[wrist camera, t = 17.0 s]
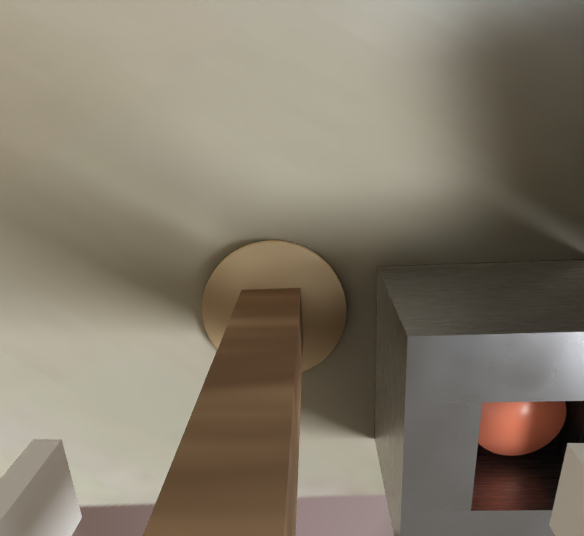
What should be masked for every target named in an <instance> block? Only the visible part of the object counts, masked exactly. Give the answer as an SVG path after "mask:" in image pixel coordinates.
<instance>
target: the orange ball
mask: <svg viewBox="0 0 584 536" xmlns="http://www.w3.org/2000/svg"><path fill="white" fill-rule="evenodd" d="M565 418H566V404H565V401H545V402H490V403H482V410H481V420H480V429H479V439H478V443H479V444H480V445H481V446H482V447H484V448H485V449H487V450H489V451H491V452H493V453H496V454H500V455H509V456H514V455H523V454H527V453H531V452H533V451H536V450H538V449H540V448H542V447H544V446H545V445H547V444H548V443H549V442H551V441H552V440H553V439H554V438H555V437H556V436H557V434H558V433H559V432H560V430H561V428H562V427H563V424H564V422H565Z"/></svg>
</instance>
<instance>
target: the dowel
mask: <svg viewBox="0 0 584 536" xmlns="http://www.w3.org/2000/svg"><path fill="white" fill-rule="evenodd" d="M302 360H303V326H302V306H301V288H279V289H249V290H241V292H240V295H239V297H238V300H237V302H236V305H235V307H234V310H233V312H232V315H231V317H230V320H229V322H228V325H227V327H226V330H225V332H224V335H223V337H222V340H221V342H220V345H219V347H218V350H217V352H216V355H215V357H214V360H213V362H212V365H211V367H210V370H209V372H208V375H207V377H206V380H205V382H204V385H203V387H202V390H201V392H200V394H199V397H198V399H197V402H196V404H195V407H194V409H193V412H192V414H191V417H190V419H189V422H188V424H187V427H186V429H185V432H184V434H183V437H182V439H181V442H180V444H179V447H178V449H177V452H176V454H175V457H174V459H173V462H172V464H171V467H170V469H169V472H168V474H167V477H166V479H165V482H164V484H163V487H162V489H161V492H160V494H159V497H158V499H157V502H156V504H155V507H154V509H153V512H152V514H151V517H150V519H149V522H148V524H147V527H146V529H145V532H144V534H143V536H295V534H296V509H297V485H298V460H299V435H300V410H301V385H302Z"/></svg>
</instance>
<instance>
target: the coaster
mask: <svg viewBox="0 0 584 536" xmlns="http://www.w3.org/2000/svg"><path fill="white" fill-rule="evenodd" d="M279 288H301V306H302V326H303V360H302V372H304V371H306V370H308V369H310V368H313V367H314V366H316V365H317V364H319V363H320V362H322V361H323V360H324V359H325V358H327V357H328V355H329V354H330V353H331V352H332V351H333V350H334V348H335V347H336V346H337V344H338V342H339V341H340V339H341V337H342V334H343V331H344V328H345V324H346V315H347V309H346V300H345V295H344V291H343V288H342V285H341V282H340V280H339V278H338V277H337V275H336V273H335V272H334V270H333V269H332V268H331V266H330V265H329V264H328V263H327V262H326V261H325V260H324V259H323V258H321V257H320V256H319V255H318V254H316V253H315V252H313V251H311V250H310V249H308V248H306V247H303V246H301V245H299V244H295V243H292V242H287V241H281V240H266V241H259V242H254V243H250V244H248V245H245V246H242V247H240V248H239V249H237V250H235V251H233V252H232V253H231V254H229V255H228V256H226V257H225V258H224V259H223V260H222V261H221V262H220V263H219V265H218V266H217V267H216V268H215V270H214V271H213V273H212V275H211V276H210V278H209V280H208V282H207V284H206V287H205V289H204V293H203V297H202V306H201V308H202V319H203V324H204V327H205V330H206V332H207V334H208V336H209V338H210V340H211V342H212V343H213V345H214V346H215V348H216V349H217V350H218V347H219V345H220V342H221V340H222V337H223V335H224V332H225V330H226V327H227V325H228V322H229V320H230V317H231V315H232V312H233V310H234V307H235V305H236V302H237V300H238V297H239V295H240V292H241V290H249V289H279Z"/></svg>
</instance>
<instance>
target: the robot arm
mask: <svg viewBox="0 0 584 536" xmlns="http://www.w3.org/2000/svg"><path fill="white" fill-rule="evenodd" d="M81 518H82V516H81V512H80V508H79V504H78V501H77V497H76V493H75V489H74V485H73V481H72V478H71V474H70V470H69V466H68V462H67V459H66V455H65V451H64V447H63V443H62V440H53V439H34V440H33V441H32V442H31V443H30V444H29V445H28V447H27V448H26V449H25V450H24V451H23V453H22V454H21V455H20V456H19V457H18V459H17V460H16V461H15V462H14V463H13V465H12V466H11V467H10V468H9V469H8V470H7V472H6V473H5V474H4V475H3V476H2V478H1V479H0V536H72V534H73V532H74V530H75V529H76V527H77V525H78V523H79V521H80V520H81ZM549 526H550V527H551V529H552V531H553V533H554V535H555V536H584V443H567V447H566V452H565V456H564V461H563V465H562V470H561V474H560V479H559V483H558V488H557V492H556V497H555V501H554V506H553V510H552V515H551V519H550V524H549Z"/></svg>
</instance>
